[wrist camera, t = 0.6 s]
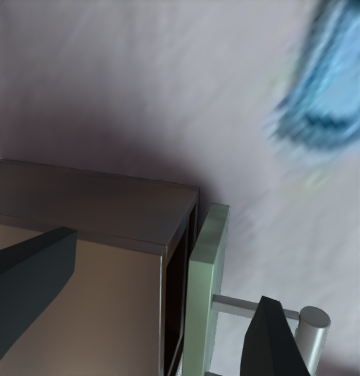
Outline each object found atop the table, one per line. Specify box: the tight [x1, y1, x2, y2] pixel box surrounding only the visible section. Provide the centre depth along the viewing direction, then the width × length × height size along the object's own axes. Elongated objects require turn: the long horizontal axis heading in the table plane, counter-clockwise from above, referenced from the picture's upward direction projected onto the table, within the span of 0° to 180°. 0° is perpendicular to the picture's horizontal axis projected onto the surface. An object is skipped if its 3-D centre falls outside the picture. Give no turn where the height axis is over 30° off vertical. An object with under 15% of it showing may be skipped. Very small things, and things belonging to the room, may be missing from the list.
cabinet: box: [0, 159, 199, 376], centre depth 22 cm, size 16×14×8 cm
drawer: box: [163, 203, 331, 376], centre depth 21 cm, size 20×12×6 cm, turn 89°
